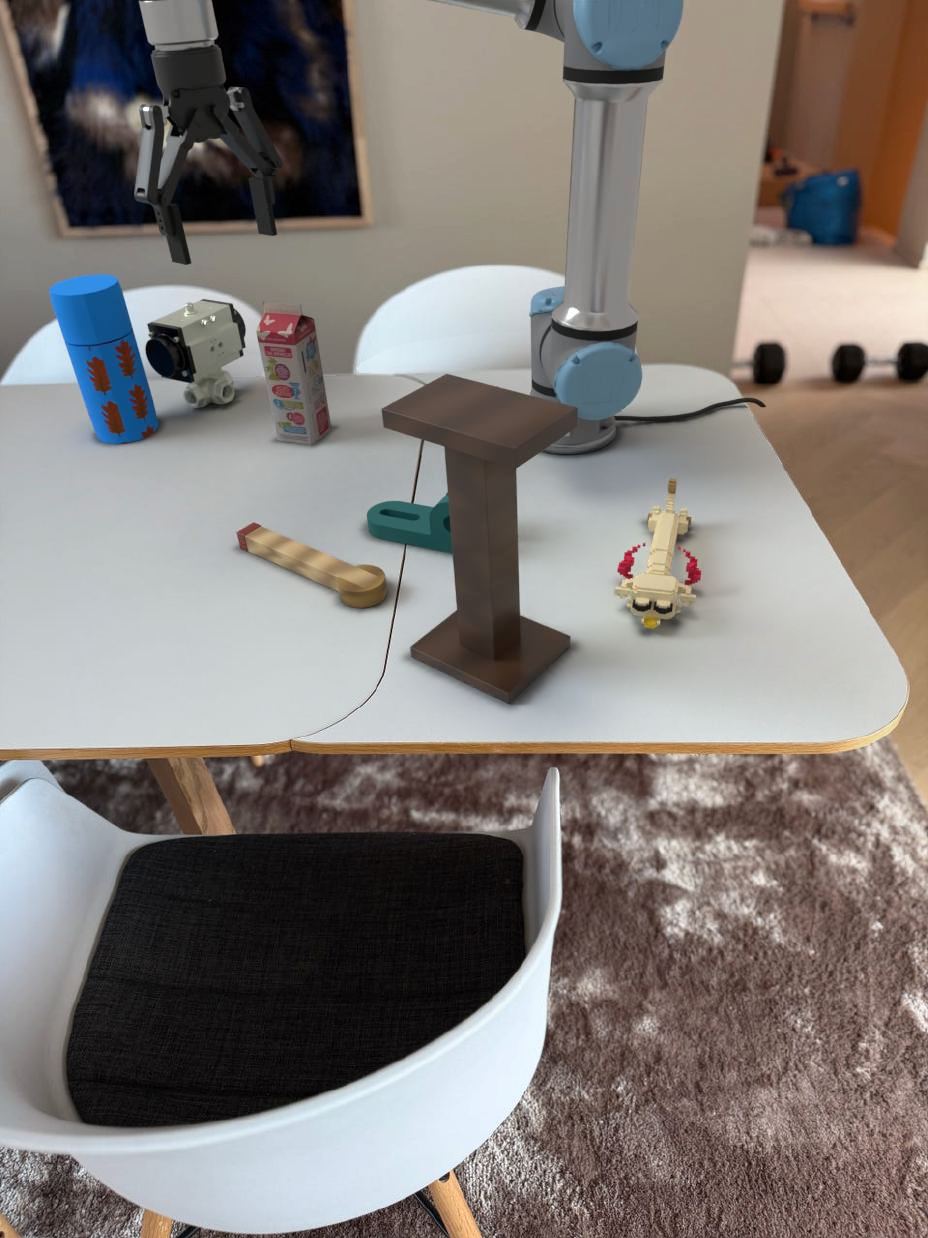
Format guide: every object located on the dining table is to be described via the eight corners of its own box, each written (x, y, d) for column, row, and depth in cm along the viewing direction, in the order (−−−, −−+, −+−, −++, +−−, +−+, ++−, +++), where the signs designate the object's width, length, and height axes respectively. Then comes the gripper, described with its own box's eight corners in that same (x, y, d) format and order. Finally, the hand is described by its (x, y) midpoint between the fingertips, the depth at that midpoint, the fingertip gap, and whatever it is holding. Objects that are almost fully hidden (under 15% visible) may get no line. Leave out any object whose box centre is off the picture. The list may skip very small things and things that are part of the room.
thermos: (172, 423, 160) (133, 278, 145) (125, 449, 153) (78, 299, 138) (130, 412, 165) (88, 270, 150) (83, 436, 158) (33, 290, 143)
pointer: (232, 552, 125) (228, 536, 124) (264, 533, 129) (261, 517, 127) (364, 613, 112) (362, 596, 111) (397, 590, 116) (394, 573, 114)
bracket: (497, 532, 125) (495, 482, 120) (477, 558, 120) (474, 506, 116) (382, 511, 132) (376, 462, 127) (359, 534, 127) (352, 484, 122)
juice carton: (297, 423, 157) (273, 294, 144) (331, 427, 155) (310, 297, 142) (277, 440, 152) (251, 308, 139) (312, 445, 150) (289, 311, 137)
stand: (404, 653, 105) (373, 412, 87) (468, 602, 113) (452, 369, 95) (516, 708, 97) (508, 453, 79) (578, 649, 104) (583, 403, 86)
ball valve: (196, 424, 159) (170, 324, 148) (161, 416, 163) (134, 317, 152) (264, 386, 171) (244, 290, 160) (230, 379, 175) (209, 285, 164)
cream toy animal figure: (631, 529, 126) (606, 625, 106) (635, 470, 121) (610, 560, 101) (705, 536, 124) (693, 636, 104) (712, 476, 119) (701, 569, 99)
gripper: (249, 31, 109) (281, 220, 122) (64, 59, 94) (122, 271, 107) (292, 32, 105) (320, 226, 118) (106, 61, 90) (161, 280, 103)
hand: (226, 248), depth 112 cm, fingers open, 13 cm apart
